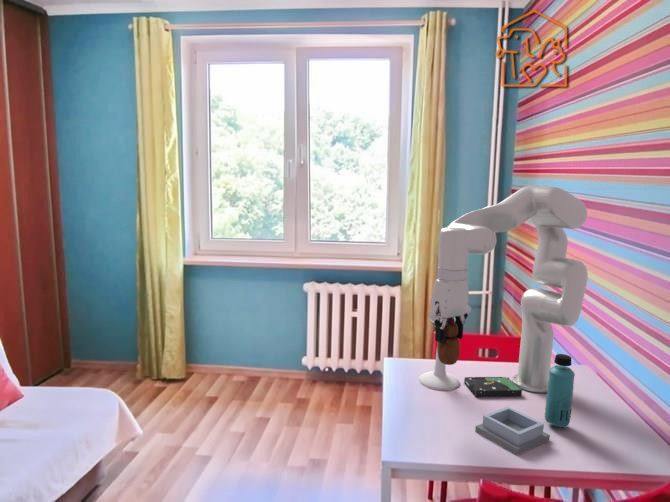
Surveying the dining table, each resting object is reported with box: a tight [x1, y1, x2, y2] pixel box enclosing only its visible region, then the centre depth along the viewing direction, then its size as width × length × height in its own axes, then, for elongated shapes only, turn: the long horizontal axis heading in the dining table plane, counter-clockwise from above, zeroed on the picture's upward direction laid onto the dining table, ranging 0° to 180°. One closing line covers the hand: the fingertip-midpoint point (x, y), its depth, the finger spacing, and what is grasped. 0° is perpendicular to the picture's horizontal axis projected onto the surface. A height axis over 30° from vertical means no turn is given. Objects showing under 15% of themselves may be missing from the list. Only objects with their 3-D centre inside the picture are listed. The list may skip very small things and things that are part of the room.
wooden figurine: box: [436, 317, 461, 366], centre depth 135 cm, size 7×6×15 cm
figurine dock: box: [474, 406, 551, 456], centre depth 130 cm, size 13×13×4 cm
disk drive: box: [463, 376, 523, 398], centre depth 158 cm, size 10×3×15 cm
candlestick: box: [418, 319, 460, 391], centre depth 161 cm, size 13×13×30 cm
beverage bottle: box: [543, 353, 576, 427], centre depth 135 cm, size 6×7×20 cm
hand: (448, 339), depth 135 cm, fingers closed on wooden figurine, 5 cm apart
